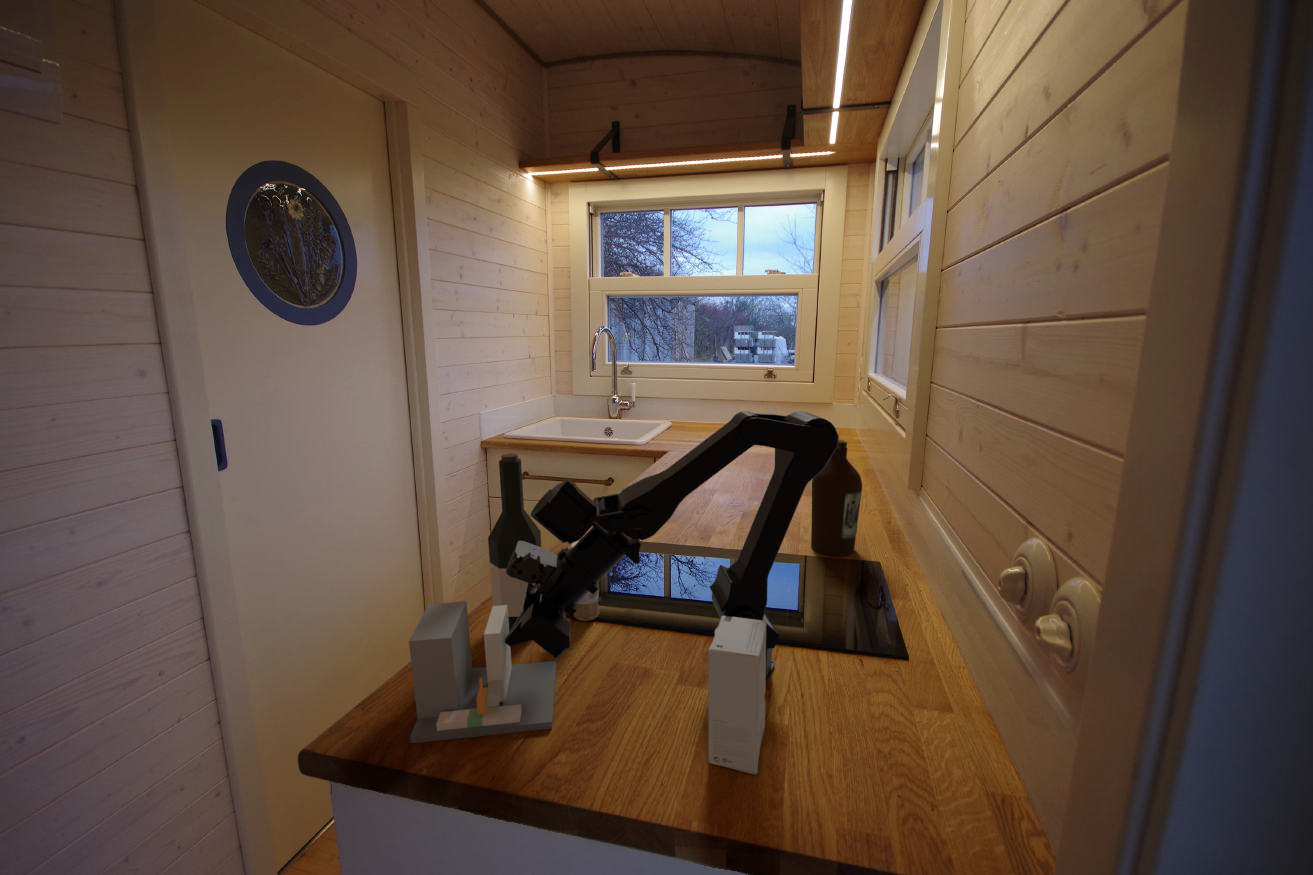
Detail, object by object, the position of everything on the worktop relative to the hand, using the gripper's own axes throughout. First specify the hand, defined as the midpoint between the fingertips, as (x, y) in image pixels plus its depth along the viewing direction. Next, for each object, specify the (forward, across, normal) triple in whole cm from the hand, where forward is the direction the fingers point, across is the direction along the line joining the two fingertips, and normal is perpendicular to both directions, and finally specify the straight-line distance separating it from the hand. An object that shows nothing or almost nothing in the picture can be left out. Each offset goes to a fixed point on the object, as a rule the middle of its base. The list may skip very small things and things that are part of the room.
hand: (507, 642), depth 72 cm
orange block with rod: (+5, +6, +2) cm, 8 cm away
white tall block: (+5, +1, +4) cm, 7 cm away
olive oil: (-42, -40, +52) cm, 78 cm away
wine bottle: (+6, -17, +5) cm, 19 cm away
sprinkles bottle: (-2, -19, +13) cm, 23 cm away
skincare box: (-14, +13, +26) cm, 32 cm away
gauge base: (+7, +1, +4) cm, 8 cm away
